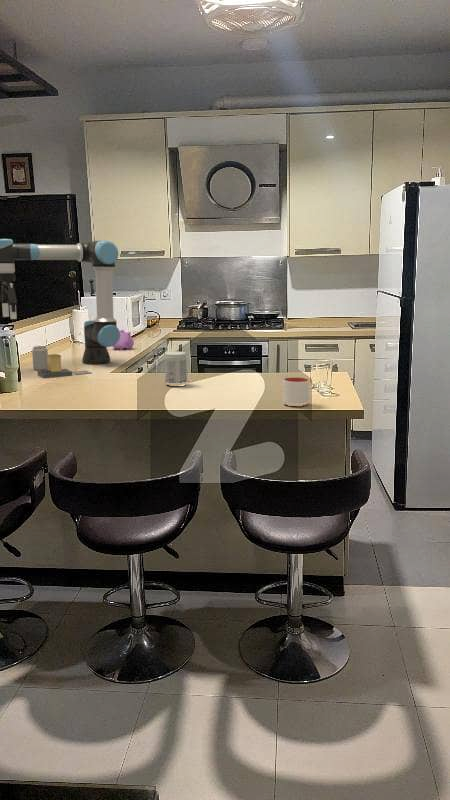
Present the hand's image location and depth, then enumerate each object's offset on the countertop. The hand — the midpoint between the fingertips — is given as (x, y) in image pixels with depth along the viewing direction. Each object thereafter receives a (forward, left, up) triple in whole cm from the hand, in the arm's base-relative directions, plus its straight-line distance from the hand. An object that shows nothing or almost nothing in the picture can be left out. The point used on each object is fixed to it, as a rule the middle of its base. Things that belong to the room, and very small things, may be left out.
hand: (9, 317), depth 295 cm
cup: (-74, +125, -28) cm, 148 cm away
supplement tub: (-54, +66, -28) cm, 90 cm away
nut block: (-16, +13, -28) cm, 35 cm away
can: (-16, -7, -28) cm, 33 cm away
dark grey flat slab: (-16, +13, -28) cm, 35 cm away
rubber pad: (-30, +13, -28) cm, 43 cm away
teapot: (-84, -55, -28) cm, 104 cm away
